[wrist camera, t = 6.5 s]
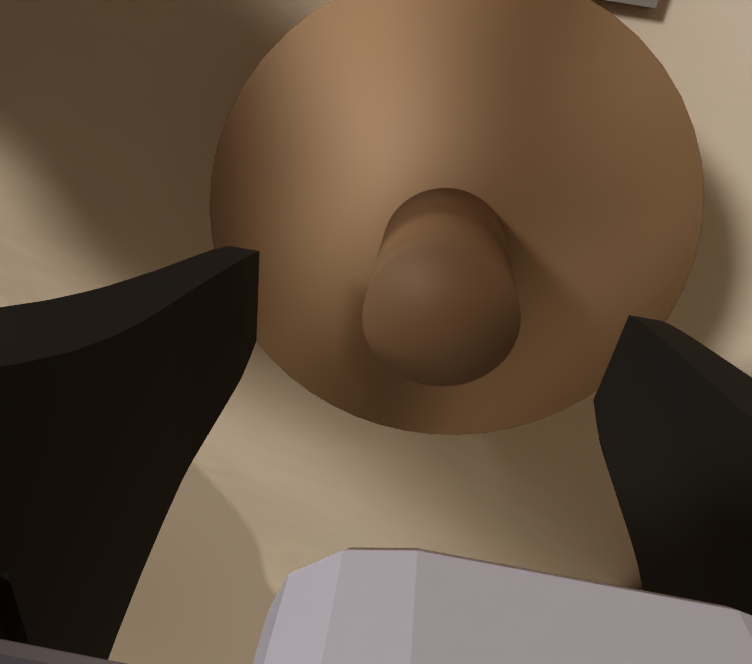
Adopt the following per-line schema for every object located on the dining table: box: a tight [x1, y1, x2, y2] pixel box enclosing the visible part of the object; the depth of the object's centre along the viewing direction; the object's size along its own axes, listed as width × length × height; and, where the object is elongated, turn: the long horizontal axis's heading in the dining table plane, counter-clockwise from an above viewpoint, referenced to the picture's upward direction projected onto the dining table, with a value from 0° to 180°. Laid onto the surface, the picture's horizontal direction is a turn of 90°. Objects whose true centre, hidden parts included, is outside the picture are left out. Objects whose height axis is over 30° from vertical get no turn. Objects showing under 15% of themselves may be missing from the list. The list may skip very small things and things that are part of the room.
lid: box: [210, 0, 704, 435], centre depth 12 cm, size 11×11×4 cm
